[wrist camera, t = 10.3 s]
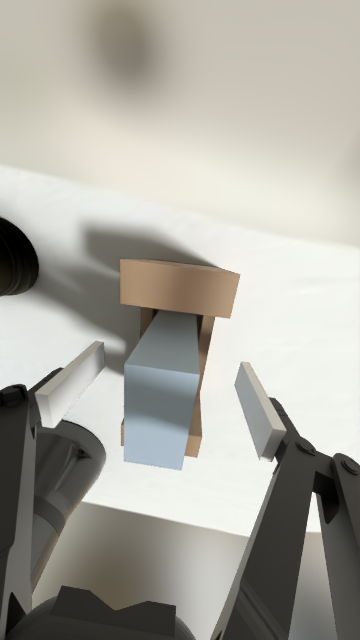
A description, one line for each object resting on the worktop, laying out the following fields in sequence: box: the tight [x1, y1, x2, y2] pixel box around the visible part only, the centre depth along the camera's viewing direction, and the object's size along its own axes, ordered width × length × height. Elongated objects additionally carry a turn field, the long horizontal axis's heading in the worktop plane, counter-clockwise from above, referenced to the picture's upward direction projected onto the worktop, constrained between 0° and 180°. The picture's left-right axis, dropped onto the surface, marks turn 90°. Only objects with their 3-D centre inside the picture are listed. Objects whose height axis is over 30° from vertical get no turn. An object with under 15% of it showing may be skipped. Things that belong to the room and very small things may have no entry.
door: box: [124, 309, 200, 470], centre depth 16 cm, size 4×8×12 cm, turn 173°
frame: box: [120, 259, 240, 458], centre depth 18 cm, size 8×18×9 cm, turn 173°
